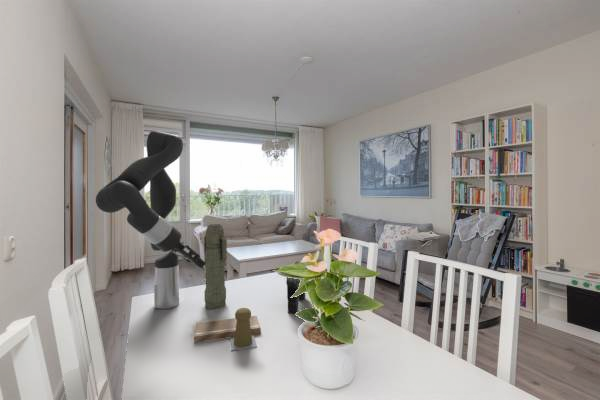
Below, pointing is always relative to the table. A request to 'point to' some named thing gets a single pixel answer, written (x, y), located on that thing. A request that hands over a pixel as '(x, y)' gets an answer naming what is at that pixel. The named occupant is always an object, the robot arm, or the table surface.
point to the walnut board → (221, 329)
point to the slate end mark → (234, 348)
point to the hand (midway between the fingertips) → (197, 262)
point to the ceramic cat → (291, 288)
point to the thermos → (215, 266)
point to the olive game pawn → (243, 328)
